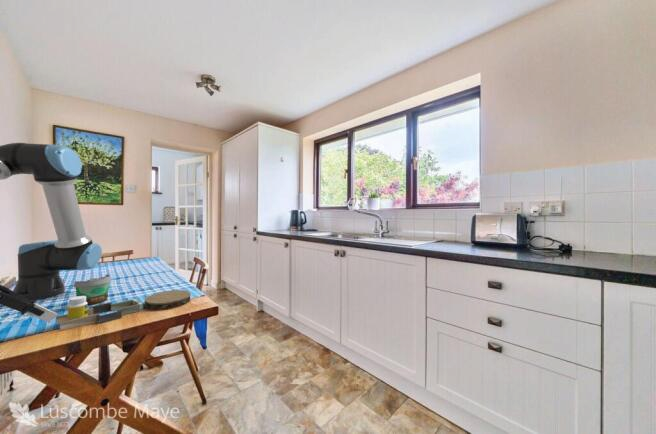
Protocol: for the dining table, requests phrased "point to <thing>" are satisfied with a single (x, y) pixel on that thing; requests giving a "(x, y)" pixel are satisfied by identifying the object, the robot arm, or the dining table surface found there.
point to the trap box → (94, 315)
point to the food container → (93, 289)
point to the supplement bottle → (77, 307)
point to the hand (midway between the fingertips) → (53, 318)
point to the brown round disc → (167, 300)
